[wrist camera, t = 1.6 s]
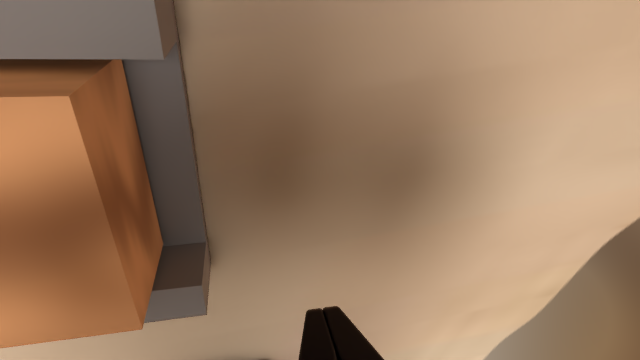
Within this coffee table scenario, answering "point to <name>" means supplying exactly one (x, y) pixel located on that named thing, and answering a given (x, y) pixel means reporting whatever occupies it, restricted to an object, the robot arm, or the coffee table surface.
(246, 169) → the coffee table surface
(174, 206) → the chute
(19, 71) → the orange block
